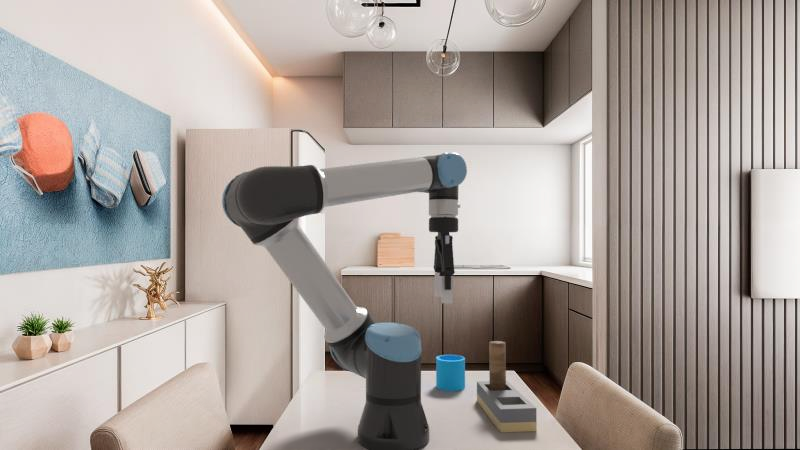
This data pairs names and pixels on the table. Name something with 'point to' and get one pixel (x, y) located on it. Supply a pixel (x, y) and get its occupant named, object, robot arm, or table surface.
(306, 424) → the table surface
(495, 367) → the peg
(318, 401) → the table surface
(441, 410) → the table surface
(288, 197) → the robot arm
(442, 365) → the mug
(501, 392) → the rail
